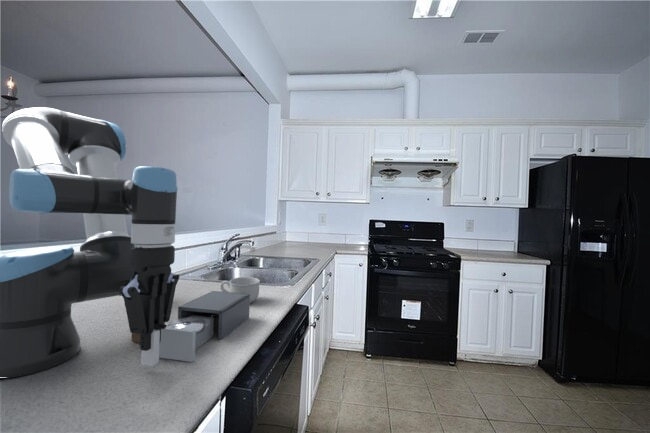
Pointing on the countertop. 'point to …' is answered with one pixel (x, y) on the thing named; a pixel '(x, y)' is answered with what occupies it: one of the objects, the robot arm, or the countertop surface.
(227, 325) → the drawer casing
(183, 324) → the disc
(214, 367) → the countertop surface
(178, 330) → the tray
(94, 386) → the countertop surface
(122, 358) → the countertop surface
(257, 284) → the teacup
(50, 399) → the countertop surface
